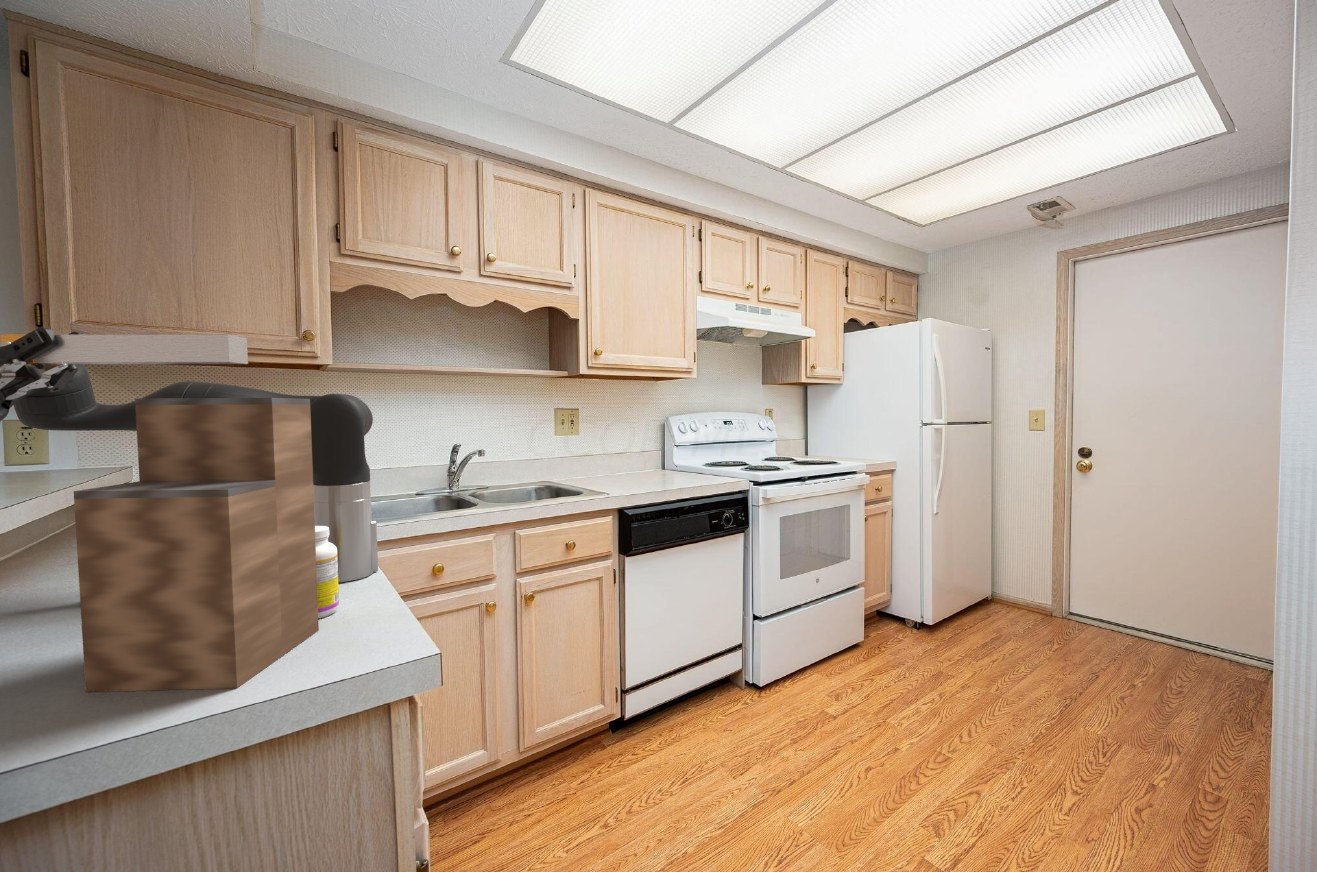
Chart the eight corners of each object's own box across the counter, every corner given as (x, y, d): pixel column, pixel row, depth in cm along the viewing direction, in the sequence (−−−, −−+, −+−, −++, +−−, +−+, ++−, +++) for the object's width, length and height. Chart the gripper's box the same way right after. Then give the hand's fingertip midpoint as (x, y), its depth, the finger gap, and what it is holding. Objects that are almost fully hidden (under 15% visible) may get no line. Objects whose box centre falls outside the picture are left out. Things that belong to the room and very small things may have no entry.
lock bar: (2, 362, 61) (0, 334, 61) (32, 364, 64) (31, 337, 64) (229, 362, 62) (227, 334, 62) (248, 364, 65) (247, 337, 65)
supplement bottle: (277, 617, 83) (274, 531, 82) (322, 603, 89) (319, 522, 88) (304, 625, 80) (300, 535, 79) (349, 610, 86) (346, 526, 85)
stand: (85, 692, 61) (67, 397, 60) (199, 633, 77) (187, 399, 76) (237, 688, 62) (223, 396, 60) (318, 630, 78) (309, 398, 76)
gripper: (-177, 382, 56) (-25, 294, 56) (-14, 387, 70) (108, 317, 70) (-132, 447, 56) (19, 360, 56) (21, 439, 70) (142, 369, 70)
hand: (68, 337), depth 63 cm, fingers closed on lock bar, 3 cm apart
